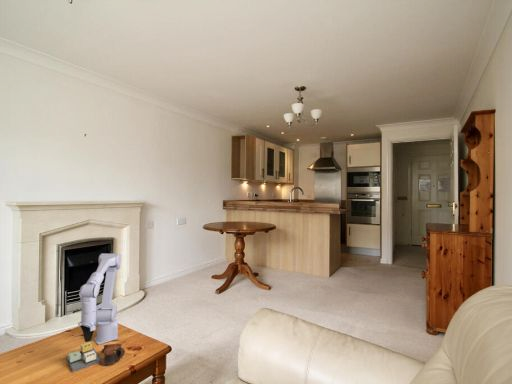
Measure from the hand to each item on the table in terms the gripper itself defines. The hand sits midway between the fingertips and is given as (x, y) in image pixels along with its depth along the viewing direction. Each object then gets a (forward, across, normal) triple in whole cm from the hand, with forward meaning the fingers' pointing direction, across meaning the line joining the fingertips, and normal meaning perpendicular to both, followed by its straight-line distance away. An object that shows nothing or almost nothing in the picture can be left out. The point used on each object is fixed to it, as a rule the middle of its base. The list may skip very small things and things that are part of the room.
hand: (87, 341), depth 126 cm
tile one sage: (+7, -2, -4) cm, 9 cm away
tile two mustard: (+6, -6, +1) cm, 9 cm away
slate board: (+9, -2, -1) cm, 9 cm away
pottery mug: (+9, +7, +9) cm, 14 cm away
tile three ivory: (+7, +2, 0) cm, 8 cm away
